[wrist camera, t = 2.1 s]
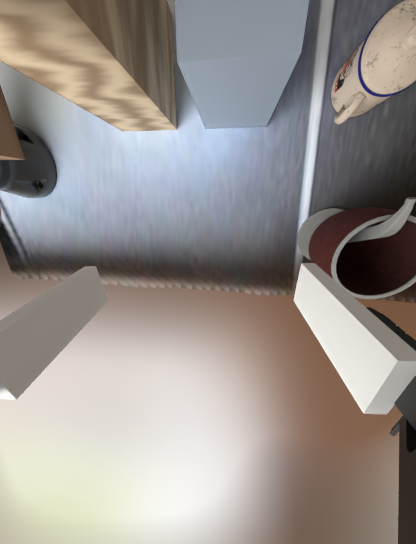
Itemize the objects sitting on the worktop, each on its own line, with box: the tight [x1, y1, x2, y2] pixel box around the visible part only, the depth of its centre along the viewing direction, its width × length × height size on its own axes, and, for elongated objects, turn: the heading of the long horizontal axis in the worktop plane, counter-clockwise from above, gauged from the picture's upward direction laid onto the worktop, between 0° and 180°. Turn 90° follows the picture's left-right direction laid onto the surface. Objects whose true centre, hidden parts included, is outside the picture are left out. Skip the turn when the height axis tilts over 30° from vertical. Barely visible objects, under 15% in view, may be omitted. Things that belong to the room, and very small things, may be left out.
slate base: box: [175, 0, 309, 129], centre depth 23 cm, size 12×16×20 cm
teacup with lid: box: [331, 0, 416, 124], centre depth 27 cm, size 12×9×12 cm
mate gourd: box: [297, 197, 416, 299], centre depth 32 cm, size 16×14×20 cm
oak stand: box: [0, 0, 177, 131], centre depth 21 cm, size 12×16×30 cm
